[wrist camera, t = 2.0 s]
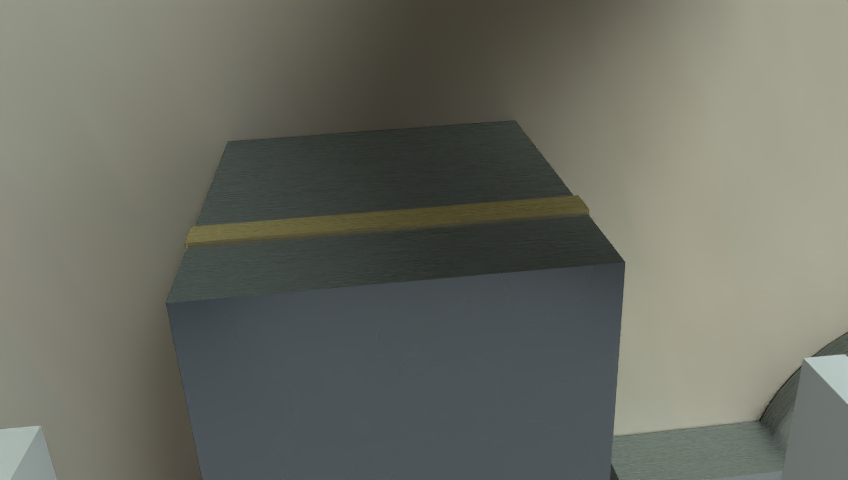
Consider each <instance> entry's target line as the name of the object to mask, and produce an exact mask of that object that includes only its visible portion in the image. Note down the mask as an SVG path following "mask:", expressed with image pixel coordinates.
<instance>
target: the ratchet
mask: <svg viewBox="0 0 848 480" xmlns="http://www.w3.org/2000/svg"><path fill="white" fill-rule="evenodd" d="M842 354H845V355H846V356H847V357H848V333H846V334H845V335H843V336H842V337H840V338H838V339H837V340H835V341H833V342H832V343H830V344H829V345H827V346H826V347H825V348H823V349H822V350H821V351H819V352H818V353H817V354H816V355H814V356H813V357H820V356H831V355H842ZM801 368H802V367H801ZM801 368H800V369H799V370H797V371H796V372H795V373H794V374H793V375H792V377H791V378H790V379H789V380H788V381H787V382H786V383H785V385H784V386H783V387H782V388H781V389H780V390H779V392H778V393H777V395H776V396H775V397H774V399H773V400H772V402H771V403H770V405H769V406H768V408H767V409H766V411H765V413H764V415H763V417H762V419H761V420H760V421H757V422H748V423H738V424H729V425H720V426H710V427H701V428H692V429H682V430H673V431H664V432H654V433H645V434H636V435H626V436H617V437H613V443H612V458H611V472H610V480H781V478H782V472H783V467H784V461H785V456H786V450H787V445H788V439H789V434H790V428H791V423H792V417H793V412H794V406H795V401H796V395H797V390H798V384H799V379H800V373H801Z"/></svg>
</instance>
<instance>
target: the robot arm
mask: <svg viewBox="0 0 848 480" xmlns="http://www.w3.org/2000/svg"><path fill="white" fill-rule="evenodd" d="M0 480H57V478H56V474H55V471H54V468H53V464H52V461H51V458H50V454H49V451H48V448H47V444H46V441H45V438H44V434H43V431H42V428H41V426H30V427H19V428H7V429H0ZM781 480H848V357H847V356H846V355H845V354H842V355H831V356H820V357H808V358H803V362H802V368H801V373H800V379H799V384H798V390H797V395H796V401H795V406H794V412H793V417H792V423H791V428H790V434H789V439H788V445H787V450H786V456H785V461H784V467H783V472H782V478H781Z"/></svg>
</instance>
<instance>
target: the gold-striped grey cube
mask: <svg viewBox="0 0 848 480" xmlns="http://www.w3.org/2000/svg"><path fill="white" fill-rule="evenodd" d="M185 247H186V252H185V255H184V258H183V260H182V263H181V265H180V268H179V271H178V273H177V276H176V278H175V281H174V284H173V286H172V289H171V291H170V294H169V297H168V299H167V302H166V305H167V310H168V315H169V320H170V325H171V330H172V335H173V340H174V345H175V349H176V354H177V359H178V364H179V369H180V374H181V379H182V384H183V389H184V393H185V398H186V403H187V408H188V413H189V418H190V423H191V428H192V433H193V437H194V442H195V447H196V452H197V457H198V462H199V467H200V472H201V477H202V480H610V472H611V458H612V443H613V429H614V415H615V401H616V387H617V372H618V358H619V344H620V330H621V316H622V302H623V287H624V273H625V261H624V260H623V259H622V257H621V256H620V255H619V253H618V252H617V251H616V250H615V248H614V247H613V246H612V244H611V243H610V242H609V241H608V239H607V238H606V237H605V235H604V234H603V233H602V232H601V230H600V229H599V228H598V226H597V225H596V224H595V223H594V221H593V220H592V219H591V217H590V216H589V208H588V207H587V206H586V205H585V203H584V202H583V201H582V199H581V198H580V197H579V196H578V195H575V196H574V195H573V194H572V193H571V192H570V190H569V189H568V188H567V186H566V185H565V184H564V183H563V181H562V180H561V179H560V177H559V176H558V175H557V174H556V172H555V171H554V170H553V168H552V167H551V166H550V164H549V163H548V162H547V161H546V159H545V158H544V157H543V155H542V154H541V153H540V152H539V150H538V149H537V148H536V146H535V145H534V144H533V143H532V141H531V140H530V139H529V137H528V136H527V135H526V134H525V132H524V131H523V130H522V128H521V127H520V126H519V125H518V123H517V122H516V121H504V122H490V123H476V124H463V125H449V126H435V127H422V128H408V129H394V130H381V131H367V132H353V133H340V134H326V135H312V136H299V137H285V138H271V139H258V140H244V141H230V142H228V143H227V146H226V148H225V151H224V154H223V156H222V159H221V161H220V164H219V167H218V169H217V172H216V174H215V177H214V180H213V182H212V185H211V187H210V190H209V193H208V195H207V198H206V200H205V203H204V206H203V208H202V211H201V213H200V216H199V219H198V221H197V224H196V226H194V227H191V228H190V231H189V233H188V236H187V239H186V241H185Z"/></svg>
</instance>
